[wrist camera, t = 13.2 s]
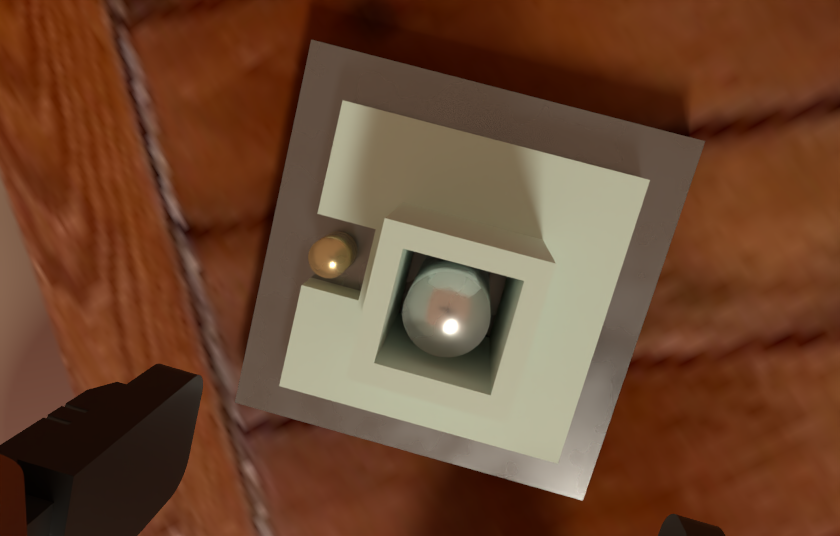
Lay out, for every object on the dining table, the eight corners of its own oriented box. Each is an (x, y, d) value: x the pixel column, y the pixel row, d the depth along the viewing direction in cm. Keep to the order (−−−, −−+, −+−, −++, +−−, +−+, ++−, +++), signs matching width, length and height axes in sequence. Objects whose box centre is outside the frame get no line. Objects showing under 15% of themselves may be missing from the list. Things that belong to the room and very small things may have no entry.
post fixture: (689, 140, 28) (761, 143, 21) (576, 478, 32) (604, 581, 24) (322, 45, 29) (268, 15, 22) (249, 386, 32) (181, 459, 25)
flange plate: (641, 177, 27) (689, 190, 21) (554, 447, 29) (573, 533, 23) (350, 101, 27) (309, 92, 21) (289, 373, 30) (236, 438, 24)
